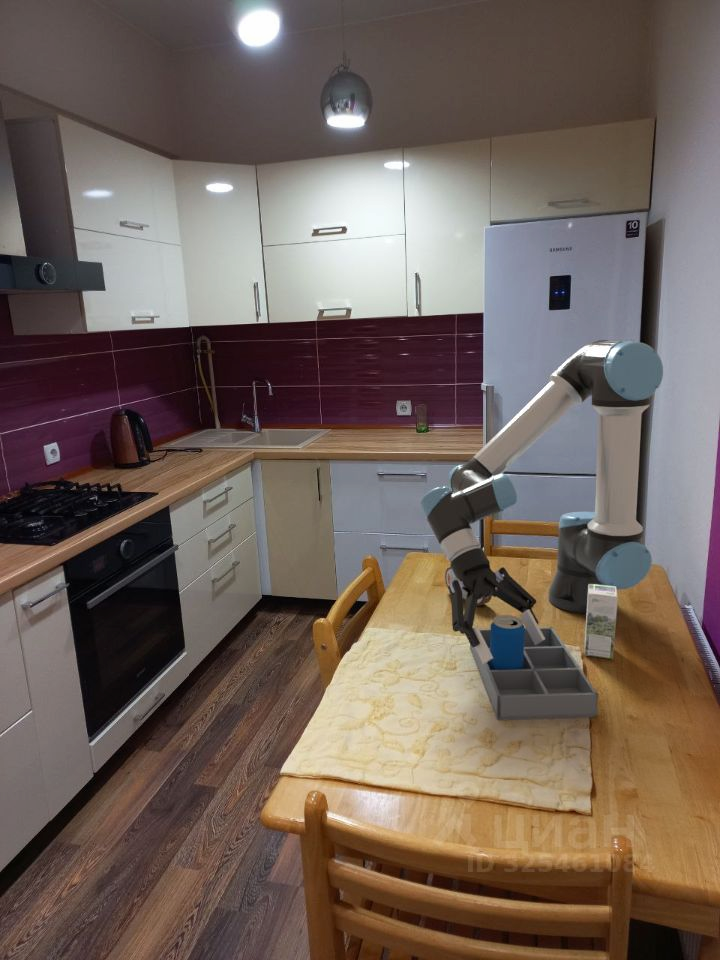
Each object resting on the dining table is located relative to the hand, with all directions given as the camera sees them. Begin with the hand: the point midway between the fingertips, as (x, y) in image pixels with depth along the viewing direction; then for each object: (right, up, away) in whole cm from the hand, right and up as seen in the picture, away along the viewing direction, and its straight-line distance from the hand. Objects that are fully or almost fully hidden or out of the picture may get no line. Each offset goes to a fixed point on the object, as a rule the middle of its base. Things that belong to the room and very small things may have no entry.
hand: (515, 651), depth 124 cm
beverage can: (-1, -6, +4) cm, 7 cm away
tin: (-2, +2, +42) cm, 42 cm away
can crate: (+3, -6, +4) cm, 8 cm away
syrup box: (+21, -4, +14) cm, 25 cm away
